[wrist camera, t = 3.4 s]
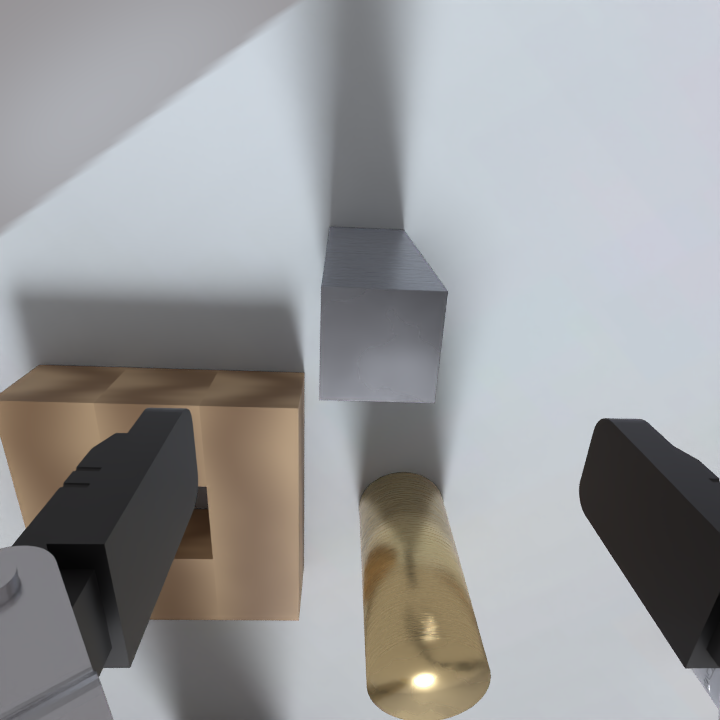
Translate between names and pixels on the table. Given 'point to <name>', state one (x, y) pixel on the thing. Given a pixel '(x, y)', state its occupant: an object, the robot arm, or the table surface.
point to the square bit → (379, 318)
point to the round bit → (416, 604)
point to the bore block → (214, 464)
